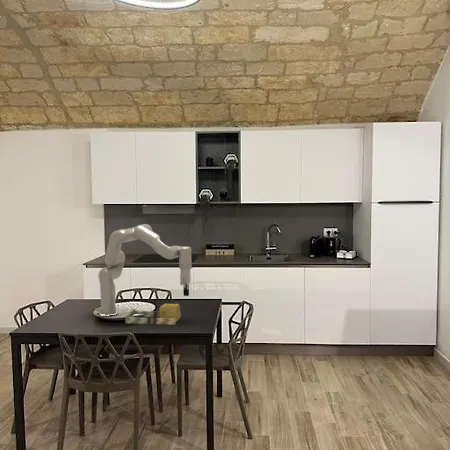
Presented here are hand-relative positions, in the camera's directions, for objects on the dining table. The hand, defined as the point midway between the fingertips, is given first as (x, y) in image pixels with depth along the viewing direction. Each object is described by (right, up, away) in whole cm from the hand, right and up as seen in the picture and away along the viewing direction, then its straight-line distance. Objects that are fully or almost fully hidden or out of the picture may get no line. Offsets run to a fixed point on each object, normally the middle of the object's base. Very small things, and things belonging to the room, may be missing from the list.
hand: (186, 295), depth 298 cm
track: (-20, -16, +4) cm, 26 cm away
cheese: (-11, -16, +3) cm, 20 cm away
